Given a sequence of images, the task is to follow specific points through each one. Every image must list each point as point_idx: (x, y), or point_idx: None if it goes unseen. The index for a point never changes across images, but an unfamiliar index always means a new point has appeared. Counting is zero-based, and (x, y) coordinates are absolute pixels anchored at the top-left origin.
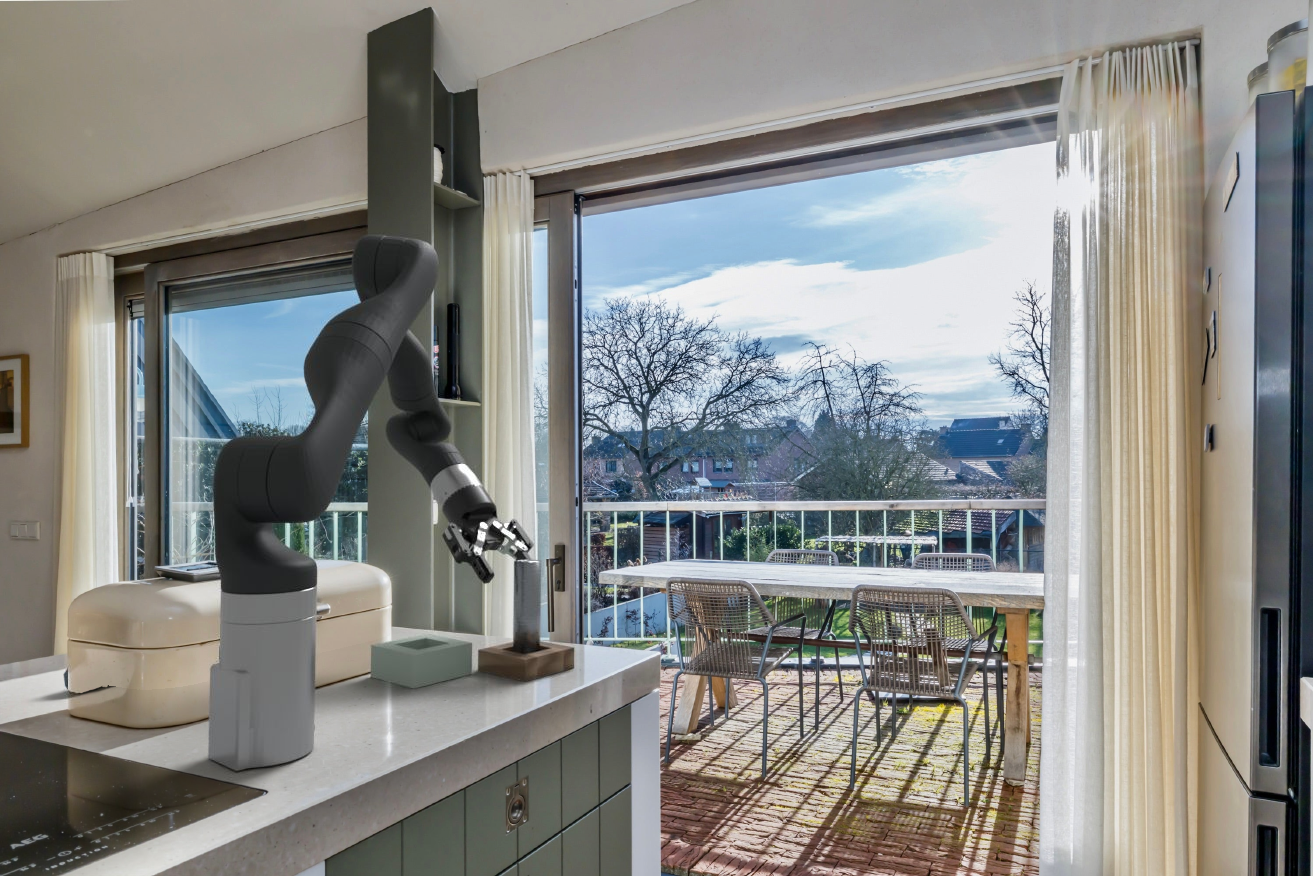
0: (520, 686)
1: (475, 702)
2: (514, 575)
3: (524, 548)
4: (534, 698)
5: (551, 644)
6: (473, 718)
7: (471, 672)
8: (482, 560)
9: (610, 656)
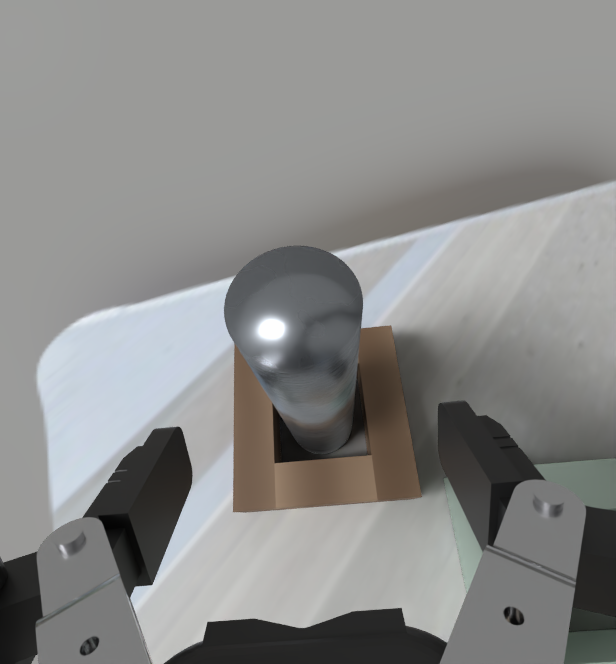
0: (414, 324)
1: (536, 297)
2: (356, 351)
3: (80, 530)
4: (438, 254)
5: (244, 403)
6: (576, 234)
7: (444, 478)
8: (505, 457)
9: (119, 378)
